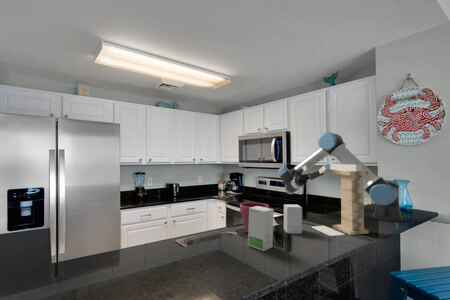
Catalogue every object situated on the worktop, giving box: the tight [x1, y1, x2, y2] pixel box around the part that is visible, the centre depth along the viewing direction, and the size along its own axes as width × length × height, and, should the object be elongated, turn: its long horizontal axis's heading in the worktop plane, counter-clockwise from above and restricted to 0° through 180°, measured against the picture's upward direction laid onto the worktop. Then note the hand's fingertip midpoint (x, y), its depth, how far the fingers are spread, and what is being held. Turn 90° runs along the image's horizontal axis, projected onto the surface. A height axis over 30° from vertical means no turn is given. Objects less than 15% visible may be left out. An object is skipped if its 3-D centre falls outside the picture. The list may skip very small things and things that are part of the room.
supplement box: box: [283, 204, 303, 235], centre depth 119 cm, size 7×7×13 cm
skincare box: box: [247, 206, 275, 252], centre depth 98 cm, size 8×7×16 cm
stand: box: [331, 170, 370, 236], centre depth 121 cm, size 11×12×30 cm
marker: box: [326, 163, 361, 171], centre depth 126 cm, size 3×21×3 cm, turn 16°
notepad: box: [311, 225, 346, 237], centre depth 119 cm, size 8×15×1 cm, turn 16°
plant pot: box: [239, 201, 270, 233], centre depth 120 cm, size 14×14×13 cm
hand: (316, 167), depth 147 cm, fingers open, 13 cm apart
